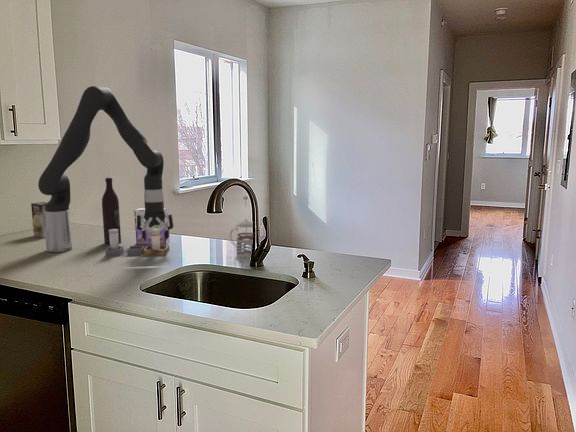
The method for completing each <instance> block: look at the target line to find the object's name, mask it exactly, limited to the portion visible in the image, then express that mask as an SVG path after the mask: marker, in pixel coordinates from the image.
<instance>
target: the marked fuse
mask: <svg viewBox="0 0 576 432" xmlns="http://www.w3.org/2000/svg"><path fill="white" fill-rule="evenodd" d="M150 245H152V250H160V229H151V244H150Z"/></svg>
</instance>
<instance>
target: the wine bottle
mask: <svg viewBox="0 0 576 432" xmlns="http://www.w3.org/2000/svg"><path fill="white" fill-rule="evenodd" d="M104 181H105V185H106V186H105V190H104V192H103V195H102V198H101V208H102V224H103V225H102V226H103V239H104V241H103V242H104V245H107V246H108V245H109V246H110V238H109V230H110V229H118V240H119V245H120V244H122V235H121V219H120V218H121V217H120V216H121V215H120V202H119V197H118V195H117V192H115V190H114V186H113V178H112V177H106V178H105V180H104Z"/></svg>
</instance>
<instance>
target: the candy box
mask: <svg viewBox="0 0 576 432" xmlns="http://www.w3.org/2000/svg"><path fill="white" fill-rule="evenodd" d="M133 212H134V225H135V239H136V240H135V242H136V245H152V244H151V229H160V245H169V243H171V240H170V236H169V238H168V239H167V240H165V229H164V227H162V226H161V224H160V225H150V224H149V225H148V226H147V228H146V229H145V230H146V240H144V239H143V238H142V231H141V230H138V229H137V216H138V215H139V214H141V215H145V207H139V208H136V209H134V210H133ZM164 213H165V215H167V214H169V208H167V207H164ZM163 221H164V222H165V223H166V224H167V226H170V225H169V220H168V219H167V218H166V217H165V219H164V220H163ZM146 222H147V221H146V220H145V218H143V219H142V220H141V227H143V226H144V225H145V224H146Z"/></svg>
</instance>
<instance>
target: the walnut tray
mask: <svg viewBox="0 0 576 432" xmlns="http://www.w3.org/2000/svg"><path fill="white" fill-rule="evenodd" d="M169 252H170V244H166V245H160V250H152V244H146V245H145V248H144V250H143V255H142V256H144V257H145V256H146V257H148V256H149V257H151V256H153V257H155V256H167V255H168V253H169Z"/></svg>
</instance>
